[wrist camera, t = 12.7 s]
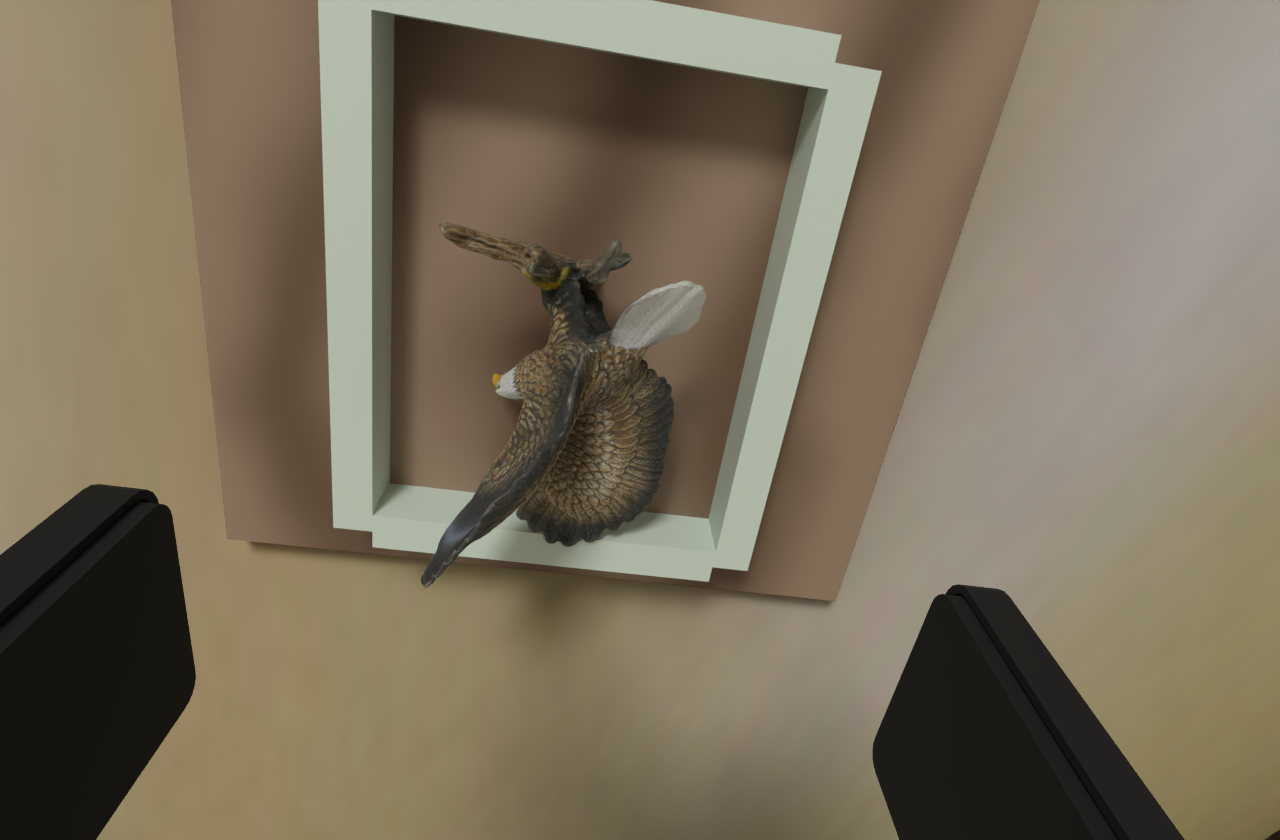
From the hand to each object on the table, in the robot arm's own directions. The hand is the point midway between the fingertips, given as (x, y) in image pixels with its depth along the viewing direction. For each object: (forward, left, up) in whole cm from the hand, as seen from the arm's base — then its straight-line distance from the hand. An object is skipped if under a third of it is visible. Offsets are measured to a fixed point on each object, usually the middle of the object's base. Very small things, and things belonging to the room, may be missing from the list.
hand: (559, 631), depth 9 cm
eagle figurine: (0, +3, -14) cm, 14 cm away
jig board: (0, 0, -15) cm, 15 cm away
